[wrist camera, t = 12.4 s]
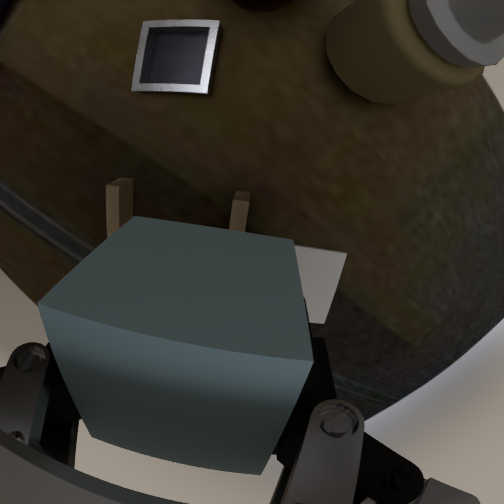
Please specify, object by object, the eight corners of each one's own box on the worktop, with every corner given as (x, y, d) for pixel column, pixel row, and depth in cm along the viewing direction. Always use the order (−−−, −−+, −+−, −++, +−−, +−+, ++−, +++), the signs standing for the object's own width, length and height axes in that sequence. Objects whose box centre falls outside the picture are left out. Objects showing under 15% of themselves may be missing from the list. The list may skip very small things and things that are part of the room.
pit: (140, 92, 21) (131, 91, 19) (151, 27, 18) (143, 21, 16) (211, 95, 21) (206, 93, 19) (222, 27, 18) (219, 20, 16)
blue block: (140, 335, 11) (91, 436, 6) (134, 215, 9) (37, 303, 4) (265, 358, 11) (260, 475, 7) (293, 240, 9) (314, 361, 4)
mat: (246, 312, 29) (246, 314, 29) (258, 238, 26) (258, 240, 26) (323, 321, 30) (324, 323, 29) (346, 252, 26) (347, 253, 26)
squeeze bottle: (307, 90, 20) (425, 28, 4) (323, 5, 17) (417, -128, 1) (398, 118, 21) (581, 154, 5) (412, 37, 17) (572, -7, 1)
